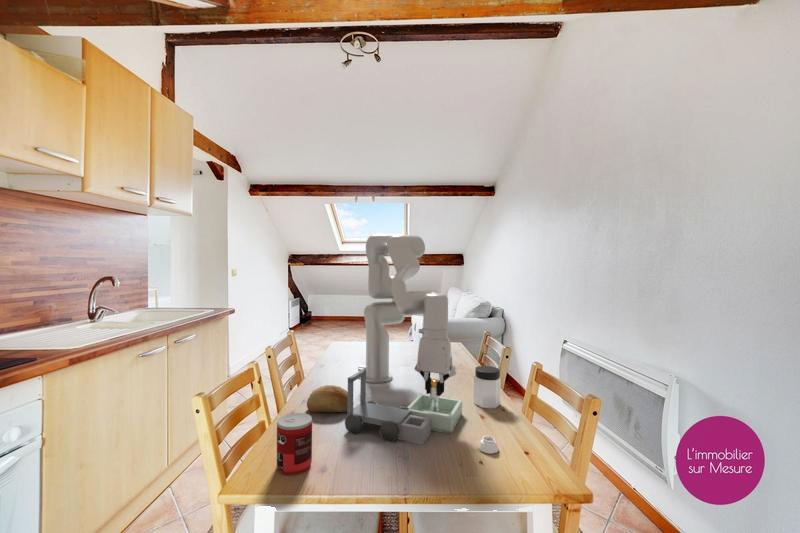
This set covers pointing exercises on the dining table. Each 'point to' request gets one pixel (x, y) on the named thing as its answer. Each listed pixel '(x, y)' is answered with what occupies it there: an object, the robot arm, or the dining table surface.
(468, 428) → the dining table surface
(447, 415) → the tray
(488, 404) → the jar
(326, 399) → the bread roll
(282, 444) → the canned food
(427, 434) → the trolley
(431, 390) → the stop pin
